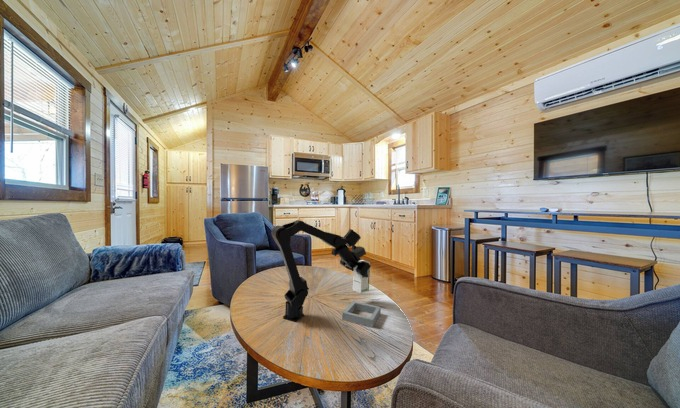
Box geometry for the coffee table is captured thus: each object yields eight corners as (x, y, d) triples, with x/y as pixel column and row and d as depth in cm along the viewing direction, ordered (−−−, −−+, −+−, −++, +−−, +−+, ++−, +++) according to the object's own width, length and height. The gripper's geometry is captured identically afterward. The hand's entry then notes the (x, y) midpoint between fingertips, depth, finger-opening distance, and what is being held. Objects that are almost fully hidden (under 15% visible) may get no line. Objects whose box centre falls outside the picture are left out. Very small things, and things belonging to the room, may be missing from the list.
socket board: (342, 319, 102) (342, 312, 102) (353, 307, 114) (353, 301, 114) (372, 327, 97) (372, 320, 97) (380, 313, 109) (380, 307, 109)
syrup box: (360, 293, 116) (362, 263, 116) (352, 289, 121) (353, 260, 120) (368, 291, 120) (370, 261, 120) (360, 287, 124) (361, 259, 124)
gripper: (368, 245, 110) (385, 267, 116) (346, 238, 126) (362, 258, 132) (352, 264, 106) (371, 286, 112) (331, 254, 122) (349, 274, 128)
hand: (363, 274), depth 121 cm, fingers closed on syrup box, 6 cm apart
